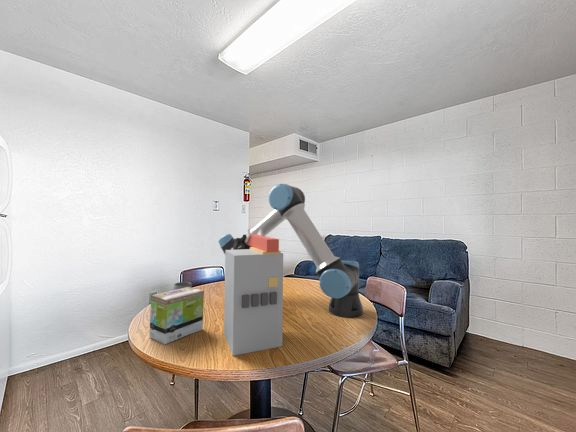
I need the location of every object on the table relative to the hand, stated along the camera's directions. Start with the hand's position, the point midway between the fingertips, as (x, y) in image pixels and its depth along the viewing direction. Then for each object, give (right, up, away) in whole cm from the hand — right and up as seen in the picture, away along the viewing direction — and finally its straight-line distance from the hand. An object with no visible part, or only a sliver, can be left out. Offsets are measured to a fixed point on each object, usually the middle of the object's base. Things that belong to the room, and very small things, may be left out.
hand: (255, 232), depth 100 cm
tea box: (-27, -36, -8) cm, 46 cm away
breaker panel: (0, -36, -13) cm, 38 cm away
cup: (-38, -37, +23) cm, 57 cm away
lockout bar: (+2, -5, -6) cm, 8 cm away
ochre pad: (+4, -6, -11) cm, 13 cm away
